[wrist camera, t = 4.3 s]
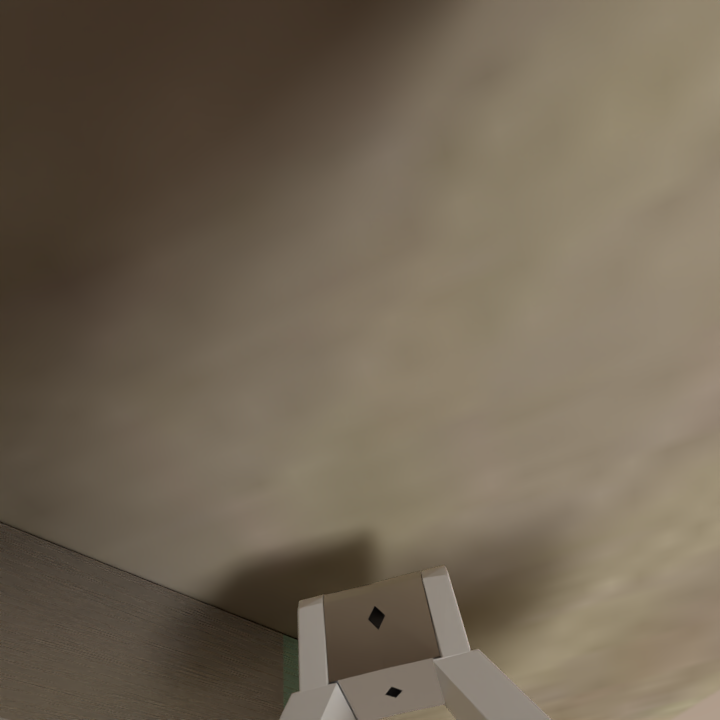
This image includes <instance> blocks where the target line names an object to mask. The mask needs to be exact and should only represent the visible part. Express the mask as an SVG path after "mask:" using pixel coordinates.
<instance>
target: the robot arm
mask: <svg viewBox="0 0 720 720" xmlns="http://www.w3.org/2000/svg"><path fill="white" fill-rule="evenodd" d="M297 617H298V662H299V691H297V692H293V693H291V696H290V698H289V700H288V702H287V704H286V706H285V708H284V710H283V712H282V714H281V716H280V718H279V720H378V719H382V718H386V717H390V716H393V715H397V714H401V713H406V712H411V711H415V710H420V709H425V708H430V707H435V706H440V705H446V707H447V709H448V710H449V711H450V712H451V713H452V715H453V716H454V717H455V718H456V720H551V719H550V718H549V717H548V716H547V715H546V714H545V713H544V712H543V711H542V710H541V709H540V708H539V707H538V706H537V705H536V704H535V703H534V702H533V701H532V700H531V699H530V698H529V697H528V696H527V695H526V694H525V693H524V692H523V691H522V690H521V689H520V688H519V687H518V686H516V685H515V684H514V683H513V682H512V681H511V680H510V679H509V678H508V677H507V676H506V675H505V674H504V673H503V672H502V671H501V670H500V669H499V668H498V667H497V666H496V665H495V664H494V663H493V662H492V661H491V660H490V659H489V658H488V657H487V656H486V655H485V654H484V653H483V652H482V651H481V650H480V649H474V650H471V648H470V645H469V642H468V638H467V635H466V631H465V628H464V625H463V621H462V618H461V614H460V611H459V607H458V604H457V601H456V597H455V594H454V590H453V587H452V584H451V580H450V577H449V573H448V571H447V568H446V566H445V565H442V566H438V567H434V568H430V569H426V570H422V571H421V574H420V571H416V572H413V573H409V574H405V575H401V576H397V577H393V578H390V579H386V580H382V581H378V582H374V583H371V584H367V585H363V586H359V587H355V588H351V589H347V590H342V591H338V592H334V593H330V594H324V595H320V596H316V597H312V598H308V599H304V600H300V601H299V605H298V610H297Z"/></svg>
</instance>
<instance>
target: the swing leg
mask: <svg viewBox="0 0 720 720" xmlns="http://www.w3.org/2000/svg"><path fill="white" fill-rule="evenodd" d="M297 691H299V662H298V640H296V639H294V638H291V637H289V636H286V635H284V634H281V633H278V632H276V631H273V630H271V629H268V628H266V627H263V626H261V625H258V624H256V623H253V622H251V621H248V620H246V619H243V618H240V617H238V616H235V615H233V614H230V613H228V612H225V611H223V610H220V609H218V608H215V607H213V606H210V605H208V604H205V603H202V602H200V601H197V600H195V599H192V598H190V597H187V596H185V595H182V594H180V593H177V592H175V591H172V590H170V589H167V588H164V587H162V586H159V585H157V584H154V583H152V582H149V581H147V580H144V579H142V578H139V577H137V576H134V575H131V574H129V573H126V572H124V571H121V570H119V569H116V568H114V567H111V566H109V565H106V564H104V563H101V562H99V561H96V560H93V559H91V558H88V557H86V556H83V555H81V554H78V553H76V552H73V551H71V550H68V549H66V548H63V547H61V546H58V545H55V544H53V543H50V542H48V541H45V540H43V539H40V538H38V537H35V536H33V535H30V534H28V533H25V532H23V531H20V530H17V529H15V528H12V527H10V526H7V525H5V524H2V523H0V720H279V718H280V716H281V714H282V712H283V710H284V708H285V706H286V704H287V702H288V700H289V698H290V696H291V693H293V692H297Z"/></svg>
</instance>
